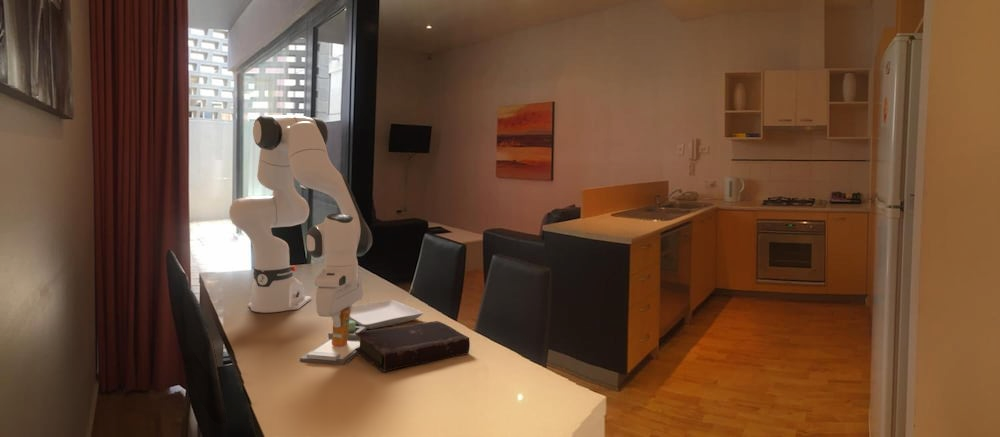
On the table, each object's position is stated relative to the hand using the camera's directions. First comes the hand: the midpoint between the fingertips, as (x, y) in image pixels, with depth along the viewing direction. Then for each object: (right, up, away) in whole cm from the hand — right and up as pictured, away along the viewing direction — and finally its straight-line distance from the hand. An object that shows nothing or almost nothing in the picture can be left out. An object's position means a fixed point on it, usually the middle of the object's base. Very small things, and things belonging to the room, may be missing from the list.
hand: (341, 324), depth 149 cm
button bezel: (-1, -6, +11) cm, 12 cm away
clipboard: (-1, -7, -2) cm, 8 cm away
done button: (-1, -5, +11) cm, 12 cm away
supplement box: (-1, -6, +1) cm, 6 cm away
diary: (+20, -7, -3) cm, 21 cm away
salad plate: (+4, -5, +29) cm, 29 cm away
